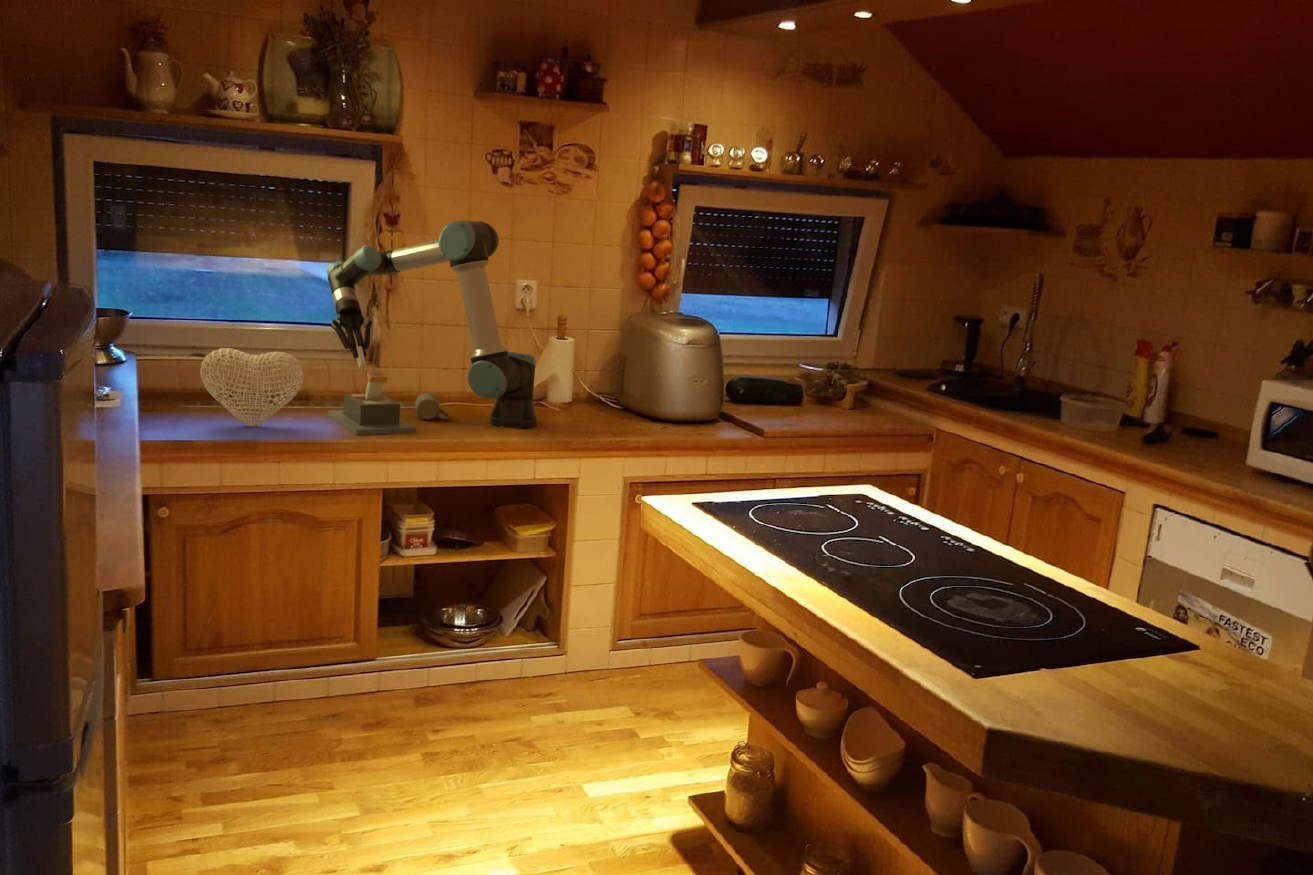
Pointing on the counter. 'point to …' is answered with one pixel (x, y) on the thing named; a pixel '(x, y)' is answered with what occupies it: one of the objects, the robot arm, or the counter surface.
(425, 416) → the ceramic mug
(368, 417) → the breaker box
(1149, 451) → the counter surface
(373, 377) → the breaker lever
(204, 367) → the heart
